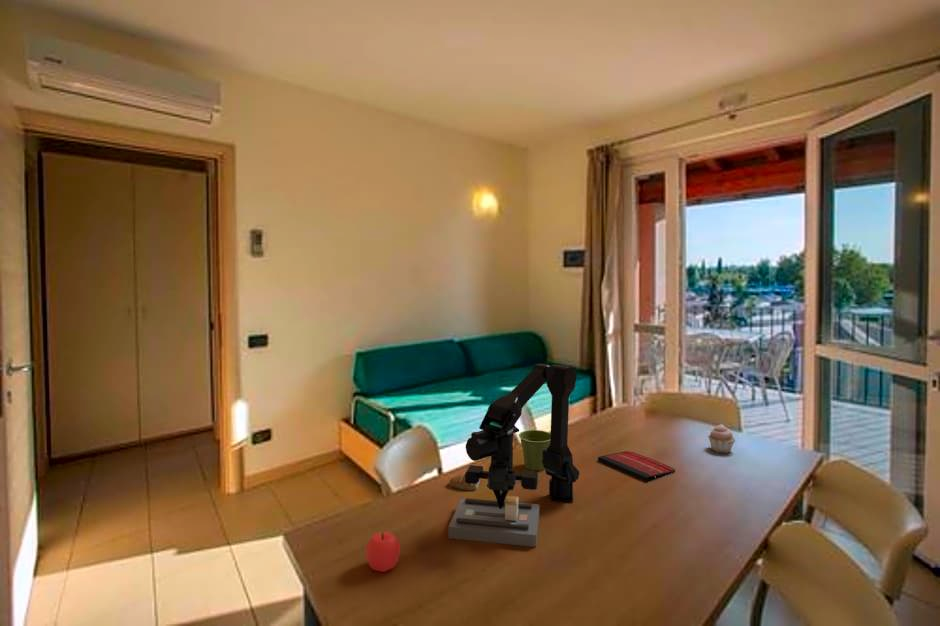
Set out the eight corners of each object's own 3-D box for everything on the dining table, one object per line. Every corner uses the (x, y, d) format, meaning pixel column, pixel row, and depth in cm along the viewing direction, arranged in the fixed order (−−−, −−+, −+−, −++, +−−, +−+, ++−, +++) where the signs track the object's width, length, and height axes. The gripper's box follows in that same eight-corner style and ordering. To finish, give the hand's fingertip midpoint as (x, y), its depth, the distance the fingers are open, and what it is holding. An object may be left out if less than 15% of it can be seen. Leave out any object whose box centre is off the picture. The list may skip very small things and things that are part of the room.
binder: (646, 476, 155) (597, 456, 172) (646, 484, 155) (597, 462, 172) (678, 468, 163) (628, 449, 181) (677, 474, 163) (627, 455, 181)
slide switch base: (539, 514, 135) (539, 500, 134) (535, 546, 119) (535, 530, 119) (461, 508, 139) (461, 493, 139) (448, 538, 123) (448, 522, 123)
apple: (384, 581, 107) (383, 546, 106) (358, 569, 111) (357, 535, 110) (408, 562, 113) (407, 529, 113) (382, 552, 117) (381, 520, 117)
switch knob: (518, 511, 130) (518, 495, 130) (516, 520, 125) (516, 504, 125) (507, 510, 131) (507, 494, 130) (504, 519, 126) (504, 503, 125)
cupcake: (736, 448, 183) (737, 422, 182) (734, 456, 175) (735, 429, 175) (708, 444, 188) (709, 418, 187) (705, 451, 180) (706, 425, 180)
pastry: (447, 490, 151) (447, 478, 151) (451, 481, 158) (451, 469, 158) (477, 491, 150) (477, 479, 150) (480, 482, 156) (480, 471, 156)
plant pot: (514, 471, 164) (514, 438, 163) (523, 458, 175) (523, 428, 174) (548, 476, 160) (549, 443, 159) (556, 463, 171) (556, 432, 170)
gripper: (460, 459, 121) (459, 519, 122) (535, 466, 117) (534, 528, 119) (469, 443, 132) (468, 499, 133) (538, 449, 128) (537, 506, 130)
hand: (500, 508), depth 128 cm, fingers closed
